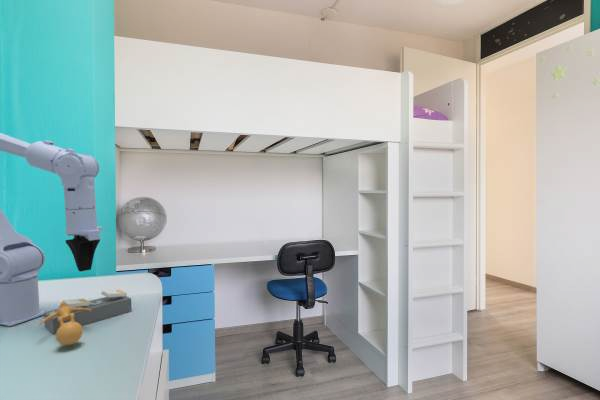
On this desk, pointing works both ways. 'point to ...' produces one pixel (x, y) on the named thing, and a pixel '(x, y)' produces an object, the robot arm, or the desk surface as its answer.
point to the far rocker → (114, 293)
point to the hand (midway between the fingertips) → (84, 270)
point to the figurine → (67, 325)
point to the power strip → (92, 312)
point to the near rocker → (77, 303)
